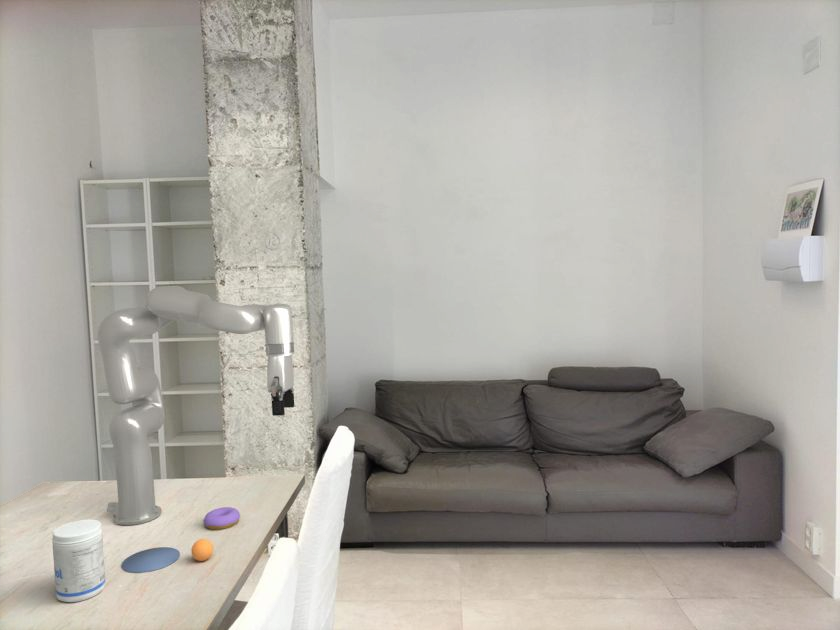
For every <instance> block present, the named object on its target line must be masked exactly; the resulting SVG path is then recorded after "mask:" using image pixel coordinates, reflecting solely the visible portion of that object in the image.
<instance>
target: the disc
mask: <svg viewBox="0 0 840 630" xmlns="http://www.w3.org/2000/svg"><path fill="white" fill-rule="evenodd" d="M180 556H181V553H180V551H179V549H177V548H174V547H171V546H169V547H167V546H163V547H152V548H148V549H144V550H140V551H138V552H135V553H133V554H131V555H129V556H128V557H126V558H125V559H124V560H123V561H122V562H121V569H122V570H123V571H125V572H127V573H133V574H134V573H135V574H137V573H138V574H139V573H140V574H141V573H148V572H149V573H150V572H154V571H157V570H158V571H159V570H161V569H164V568H167V567H168V566H170V565H172V564H174V563H176V561H178V560H179V559H180Z"/></svg>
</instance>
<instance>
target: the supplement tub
mask: <svg viewBox="0 0 840 630" xmlns="http://www.w3.org/2000/svg"><path fill="white" fill-rule="evenodd" d="M103 537H104V536H103V527H102V523H101V522H100V521H99V520H96V519H80V520H74V521H71V522H67V523H64V524H61V525H60V526H58V527H56V528H55V529H54V530H53V531H52V539H51V540H52V554H53V555H52V556H53V571H54V583H55V586H54V587H55V596H56V599H58V600H59V601H61V602H65V603H78V602H81V601H85V600H88V599H91V598H93V597H96V596H97V595H98V594H100V593H101V592H102V591H103V590H104V589H105V587H106V572H105V571H106V570H105V554H104V538H103Z"/></svg>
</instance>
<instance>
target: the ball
mask: <svg viewBox="0 0 840 630" xmlns="http://www.w3.org/2000/svg"><path fill="white" fill-rule="evenodd" d="M190 551H191V556H192V558H194V559H195V560H196V561H198V562H203V561H207V560H208V559H209V558H211V556H212V555H213V553H214V544H213V543H212V541H210V540H209V539H207V538H200V539H198V540H196V541H195V542H194V543H193V545H192V547H191V550H190Z"/></svg>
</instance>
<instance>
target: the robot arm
mask: <svg viewBox="0 0 840 630" xmlns="http://www.w3.org/2000/svg"><path fill="white" fill-rule="evenodd" d="M174 321H182V322H187V323H188V322H189V323H192V324H196V325H197V324H198V325H200V326H202V327H206V328H208V329H211V330H215V331H219V332H224V333H229V334H235V335H247V334H251V333H254V332H255V333H256V332H259V331H264V337H265V338H264V340H265V341H264V342H265V355H266V357H267V366H266V367H267V370H266V375H267V377H266V379H267V381H266V382H267V392H268V393H269V394H270V396H271V412H272V413H271V414H272V416H276V417H279V416H284V415H285V409H286V408H294V407H295V396H294V395H295V393H294V391H295V389H294V387H293V386H294V385H295V384H294V383H295V377H294V376H295V375H294V364H293V356H292V355H295V344H294V340H295V339H294V326H293V325H294V324H293V309H292V307H291V305H290V304H287V303H286V304H285V303H282V304H281V303H278V304H277V303H276V304H268V305H266V304H258V303H257V304H255V303H254V304H245V305H235V304H230V303H229V304H228V303H225V302H220V301H216V300H213V299H211V297H210V296H209V295H208V294H206V293H203V292H197V291H191V290H187V289H186V288H184V287H183V286H180V285H162V286H156V287H154V288H153V289H151V290H149V291H148V294H146V298H145V305H144V306H139V307H128V308H122V309H118V310H115V311H112V312H111V313H109V314H108V315H106V317H104V318H103V319H102V321H101V322H100V324H99V326H98V330H97V341H98V345H99V350H100V352H101V357H102V363H103V369H104V375H105V380H106V387H107V392H108V395H109V398H110V400H111V401H112V402H114V403H115V404H118V405H127V404H131V406H130V407H127V408H124V409H122V410H120V411H118V413H116V414H115V415H114V416H113V417H112V419H111V420H110V422H109V427H108V428H109V429H108V430H109V432H108V433H109V436H110V440H111V443H112V446H113V453H114V459H115V460H114V462H115V463H114V464H115V473H116V474H115V475H116V487H117V488H116V489H117V500H118V501H117V502H114V501H113V502H110V501H109V502H108V503H107V506H106V507H107V508H106V512H111V513H112V512H114V513H115V514H114V516H113V518H112V519H113V523H114V524H116V525H118V526H133V525H139V524H144V523H149V522H150V521H153V520H155V519H157V518H159V517H160V516H161V514H162V513H163V512H162V508H161V507H160V506H158V505H156V495H155V483H154V482H155V481H154V480H155V479H154V467H153V466H154V465H153V454H152V450H151V446H150V444H149V442H148V439H147V437H149V436H150V435H152V434H154V433H156V432H158V431H159V430H160V429H161V428H162V427H163V425H164V423H165V418H166V417H165V415H166V413H165V407H164V406H165V405H164V401H163V395H162V389H161V385H160V380H159V377H158V375H157V374H156V372H155V371H154V370H153V369H152V368H150V367H148V366H145V365H144V366H143V365H138V361H137V354H136V352H135V351H136V350H135V348H133V346H132V344H131V342H130V341H131V340H132V339H135V338H136V339H137V338H141V337H147V336H151V335H154V334H156V333H158V332H159V331H161V330H162V329H164V328H165V327H167V326H168V325H170V324H171V323H172V322H174Z"/></svg>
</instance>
